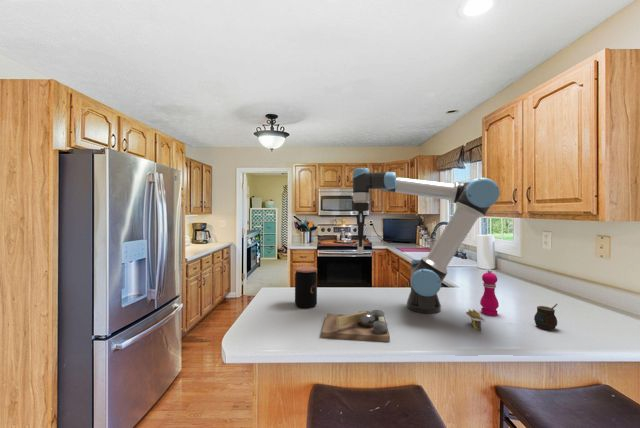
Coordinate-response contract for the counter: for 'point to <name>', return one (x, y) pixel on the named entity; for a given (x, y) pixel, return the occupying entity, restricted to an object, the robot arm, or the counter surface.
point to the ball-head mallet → (357, 319)
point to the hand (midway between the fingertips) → (360, 253)
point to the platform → (475, 319)
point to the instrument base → (357, 329)
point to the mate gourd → (545, 317)
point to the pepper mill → (489, 294)
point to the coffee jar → (306, 287)
